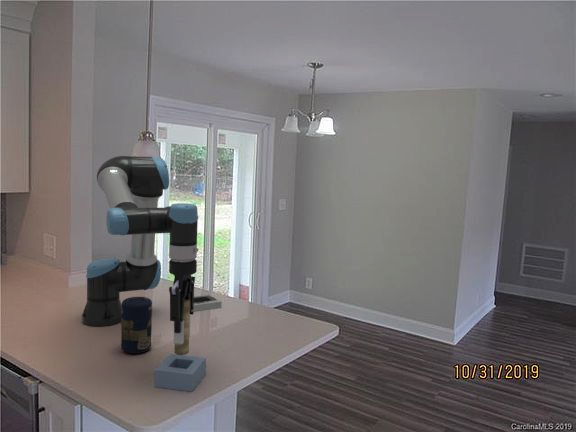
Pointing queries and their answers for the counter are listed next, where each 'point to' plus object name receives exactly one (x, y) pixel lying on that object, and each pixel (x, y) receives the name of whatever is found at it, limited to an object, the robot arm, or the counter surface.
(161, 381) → the socket block
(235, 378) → the counter surface
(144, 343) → the canister
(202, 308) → the gray rectangular tray
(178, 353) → the dowel
